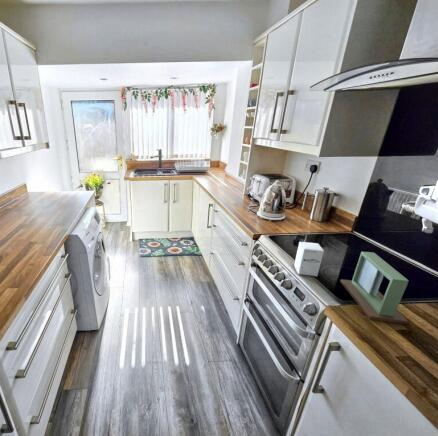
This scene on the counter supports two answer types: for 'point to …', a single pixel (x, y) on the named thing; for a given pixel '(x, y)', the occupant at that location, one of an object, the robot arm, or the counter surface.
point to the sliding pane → (377, 283)
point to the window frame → (379, 304)
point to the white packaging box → (308, 258)
